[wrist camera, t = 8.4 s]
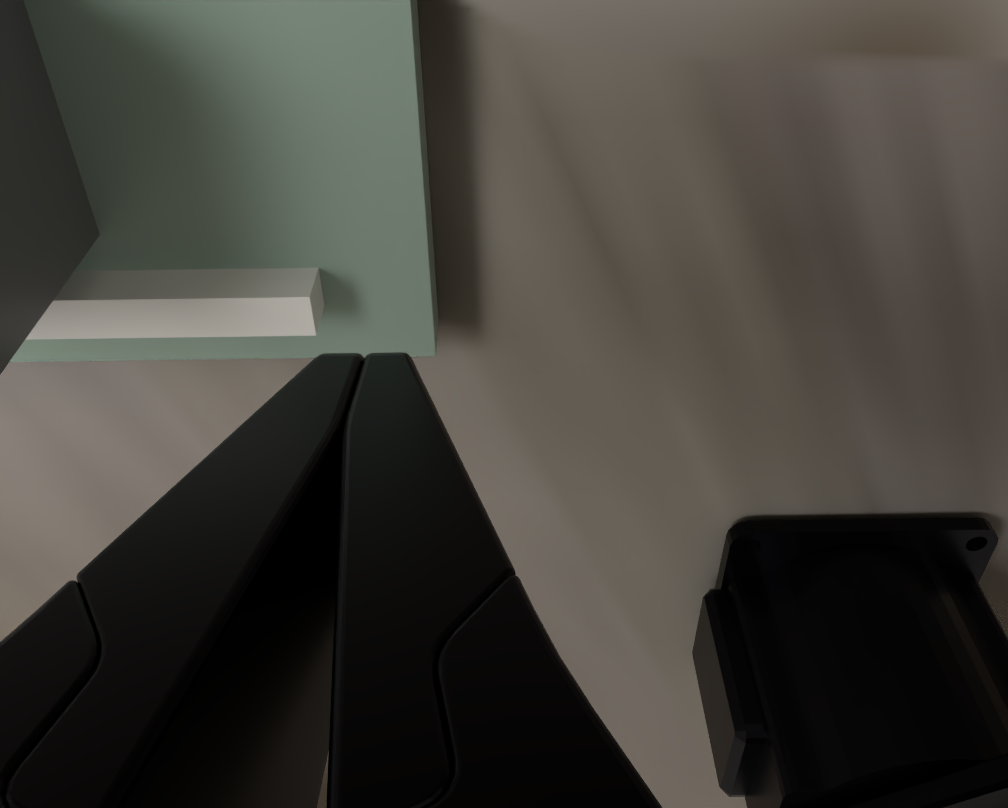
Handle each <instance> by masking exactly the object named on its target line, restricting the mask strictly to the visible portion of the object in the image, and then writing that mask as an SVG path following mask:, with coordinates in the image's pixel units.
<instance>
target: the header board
mask: <svg viewBox="0 0 1008 808" xmlns="http://www.w3.org/2000/svg"><path fill="white" fill-rule="evenodd" d="M24 3H25V6H26V9H27V12H28V16H29V19H30V22H31V25H32V28H33V31H34V34H35V37H36V40H37V43H38V46H39V49H40V52H41V55H42V59H43V62H44V65H45V68H46V71H47V74H48V77H49V80H50V83H51V86H52V89H53V92H54V95H55V98H56V102H57V105H58V108H59V111H60V114H61V117H62V120H63V123H64V126H65V129H66V132H67V135H68V138H69V142H70V145H71V148H72V151H73V154H74V157H75V160H76V163H77V166H78V169H79V172H80V175H81V178H82V181H83V185H84V188H85V191H86V194H87V197H88V200H89V203H90V206H91V209H92V212H93V215H94V218H95V221H96V224H97V228H98V231H99V234H100V236H99V237H98V238H97V240H96V241H95V243H94V244H93V245H92V247H91V248H90V250H89V251H88V252H87V254H86V255H85V257H84V258H83V259H82V261H81V262H80V264H79V265H78V266H77V268H76V269H75V271H74V272H73V273H72V275H71V276H70V278H69V279H68V280H67V282H66V283H65V285H64V286H63V287H62V289H61V290H60V292H59V293H58V294H57V296H56V297H55V299H54V300H53V301H52V303H51V304H50V306H49V307H48V308H47V310H46V311H45V313H44V314H43V315H42V317H41V318H40V320H39V321H38V322H37V324H36V325H35V327H34V328H33V329H32V331H31V332H30V334H29V335H28V336H27V338H26V339H25V341H24V342H23V343H22V345H21V346H20V348H19V349H18V350H17V352H16V353H15V355H14V356H13V357H12V359H11V360H10V362H50V361H123V360H197V359H270V358H316V357H317V356H319V355H320V354H324V353H359V354H361V355H362V356H363V357H366V355H368V354H370V353H389V352H404V353H407V354H409V356H410V357H416V356H436V347H437V335H438V324H439V320H438V305H437V290H436V275H435V260H434V245H433V230H432V215H431V200H430V186H429V171H428V156H427V141H426V126H425V111H424V96H423V81H422V66H421V51H420V36H419V21H418V7H417V0H24Z"/></svg>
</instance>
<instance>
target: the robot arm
mask: <svg viewBox="0 0 1008 808" xmlns="http://www.w3.org/2000/svg"><path fill="white" fill-rule="evenodd" d="M748 540H751V541H748ZM745 541H748V542H745ZM997 542H998V537H997V535H996V533H995V531H994V530H993V528H992V526H991V525H990V523H989V521H987V520H985V519H983V518H910V519H837V520H763V521H744V522H740V523H738V524H736V525H734V526H733V527H732V528H730V529H729V531H728V533H727V535H726V539H725V544H724V549H723V553H722V558H721V563H720V568H719V573H718V578H717V582H716V587H715V589H710V590H709V591H708V592H707V594H706V595H705V596H704V597H703V601H702V606H701V611H700V616H699V621H698V626H697V631H696V636H695V641H694V646H693V652H692V653H693V660H694V665H695V670H696V675H697V679H698V684H699V689H700V694H701V699H702V704H703V709H704V714H705V719H706V724H707V729H708V733H709V738H710V743H711V748H712V753H713V758H714V763H715V768H716V773H717V778H718V782H719V787H720V788H721V789H722V790H723V791H724V792H725V793H726V794H727V795H728V796H729V797H745V800H746V804H747V808H1008V638H1007V636H1006V634H1005V632H1004V630H1003V628H1002V626H1001V625H1000V623H999V621H998V619H997V617H996V615H995V613H994V612H993V610H992V608H991V606H990V604H989V602H988V600H987V599H986V597H985V595H984V593H983V591H982V589H981V587H980V586H979V584H978V582H979V580H980V578H981V576H982V574H983V572H984V570H985V568H986V566H987V563H988V561H989V559H990V557H991V555H992V553H993V551H994V549H995V547H996V545H997ZM77 581H78V583H77V582H76V581H69V582H67V583H66V584H65V585H64V586H63V587H62V588H61V589H60V590H59V591H57V592H56V593H55V594H54V595H53V596H52V597H51V598H50V599H49V600H48V601H46V602H45V603H44V604H43V605H42V606H41V607H40V608H39V609H38V610H37V611H35V612H34V613H33V614H32V615H31V616H30V617H29V618H27V619H26V620H25V621H24V622H23V623H22V624H20V625H19V626H18V627H17V628H16V629H15V630H14V631H12V632H11V633H10V634H9V635H8V636H7V637H5V638H4V639H3V640H2V641H1V642H0V808H317V803H318V798H319V793H320V789H321V784H322V779H323V774H324V770H325V765H326V760H327V755H328V751H329V759H328V783H327V808H662V807H661V805H660V804H659V802H658V801H657V799H656V798H655V796H654V795H653V794H652V792H651V791H650V789H649V788H648V786H647V785H646V784H645V782H644V781H643V779H642V778H641V776H640V775H639V773H638V772H637V771H636V769H635V768H634V766H633V765H632V763H631V762H630V760H629V759H628V758H627V756H626V755H625V753H624V752H623V750H622V749H621V748H620V746H619V745H618V743H617V742H616V740H615V739H614V737H613V736H612V735H611V733H610V732H609V730H608V729H607V727H606V726H605V724H604V723H603V722H602V720H601V719H600V717H599V716H598V714H597V713H596V712H595V710H594V709H593V707H592V706H591V704H590V703H589V701H588V699H587V698H586V696H585V695H584V693H583V692H582V690H581V688H580V687H579V685H578V684H577V682H576V681H575V679H574V678H573V676H572V674H571V673H570V671H569V670H568V668H567V667H566V665H565V664H564V662H563V660H562V659H561V657H560V656H559V654H558V652H557V650H556V648H555V646H554V645H553V643H552V641H551V639H550V637H549V635H548V634H547V632H546V630H545V628H544V626H543V624H542V622H541V621H540V619H539V617H538V615H537V613H536V611H535V610H534V608H533V606H532V603H531V601H530V599H529V597H528V595H527V593H526V591H525V589H524V587H523V585H522V583H521V581H520V579H519V578H518V577H517V576H515V570H514V568H513V566H512V564H511V561H510V559H509V557H508V555H507V553H506V551H505V549H504V547H503V545H502V543H501V541H500V539H499V537H498V535H497V533H496V531H495V529H494V527H493V525H492V522H491V520H490V518H489V516H488V514H487V512H486V510H485V508H484V506H483V504H482V502H481V500H480V498H479V496H478V494H477V492H476V490H475V488H474V485H473V483H472V481H471V479H470V477H469V475H468V473H467V471H466V469H465V467H464V465H463V463H462V461H461V459H460V457H459V455H458V453H457V451H456V448H455V446H454V444H453V442H452V440H451V438H450V436H449V434H448V432H447V430H446V428H445V426H444V424H443V422H442V420H441V418H440V416H439V414H438V411H437V409H436V407H435V405H434V403H433V401H432V399H431V397H430V395H429V393H428V391H427V389H426V387H425V385H424V383H423V381H422V379H421V377H420V375H419V372H418V370H417V368H416V366H415V364H414V362H413V360H412V358H411V357H410V356H409V354H407V353H404V352H389V353H370V354H368V355H366V357H365V358H364V357H363V356H362V355H361V354H359V353H324V354H320V355H319V356H317V357H316V358H315V359H313V360H312V361H311V362H310V363H309V364H308V365H307V366H306V367H305V368H304V369H302V370H301V371H300V372H299V373H298V374H297V375H296V376H295V377H294V378H293V379H291V380H290V381H289V382H288V383H287V384H286V385H285V386H284V387H283V388H282V389H280V390H279V391H278V392H277V393H276V394H275V395H274V396H273V397H272V398H271V399H269V400H268V401H267V402H266V403H265V404H264V405H263V406H262V407H261V408H260V409H258V410H257V411H256V412H255V413H254V414H253V415H252V416H251V417H250V418H249V419H247V420H246V421H245V422H244V423H243V424H242V425H241V426H240V427H239V428H237V429H236V430H235V431H234V432H233V433H232V434H231V435H230V436H229V437H228V438H226V439H225V440H224V441H223V442H222V443H221V444H220V445H219V446H218V447H217V448H215V449H214V450H213V451H212V452H211V453H210V454H209V455H208V456H207V457H206V458H204V459H203V460H202V461H201V462H200V463H199V464H198V465H197V466H196V467H195V468H193V469H192V470H191V471H190V472H189V473H188V474H187V475H186V476H185V477H184V478H182V479H181V480H180V481H179V482H178V483H177V484H176V485H175V486H174V487H173V488H171V489H170V490H169V491H168V492H167V493H166V494H165V495H164V496H163V497H161V498H160V499H159V500H158V501H157V502H156V503H155V504H154V505H153V506H152V507H150V508H149V509H148V510H147V511H146V512H145V513H144V514H143V515H142V516H141V517H139V518H138V519H137V520H136V521H135V522H134V523H133V524H132V525H131V526H130V527H128V528H127V529H126V530H125V531H124V532H123V533H122V534H121V535H120V536H119V537H117V538H116V539H115V540H114V541H113V542H112V543H111V544H110V545H109V546H108V547H106V548H105V549H104V550H103V551H102V552H101V553H100V554H99V555H98V556H97V557H95V558H94V559H93V560H92V561H91V562H90V563H89V564H88V565H87V566H86V567H84V568H83V569H82V570H81V571H80V572H79V573H78V574H77Z"/></svg>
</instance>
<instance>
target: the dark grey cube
mask: <svg viewBox="0 0 1008 808" xmlns="http://www.w3.org/2000/svg"><path fill="white" fill-rule="evenodd" d="M99 236H100V234H99V231H98V228H97V224H96V221H95V218H94V215H93V212H92V209H91V206H90V203H89V200H88V197H87V194H86V191H85V188H84V185H83V181H82V178H81V175H80V172H79V169H78V166H77V163H76V160H75V157H74V154H73V151H72V148H71V145H70V142H69V138H68V135H67V132H66V129H65V126H64V123H63V120H62V117H61V114H60V111H59V108H58V105H57V102H56V98H55V95H54V92H53V89H52V86H51V83H50V80H49V77H48V74H47V71H46V68H45V65H44V62H43V59H42V55H41V52H40V49H39V46H38V43H37V40H36V37H35V34H34V31H33V28H32V25H31V22H30V19H29V16H28V12H27V9H26V6H25V3H24V0H0V374H1V373H2V371H3V370H4V369H5V367H6V366H7V364H8V363H9V362H10V360H11V359H12V357H13V356H14V355H15V353H16V352H17V350H18V349H19V348H20V346H21V345H22V343H23V342H24V341H25V339H26V338H27V336H28V335H29V334H30V332H31V331H32V329H33V328H34V327H35V325H36V324H37V322H38V321H39V320H40V318H41V317H42V315H43V314H44V313H45V311H46V310H47V308H48V307H49V306H50V304H51V303H52V301H53V300H54V299H55V297H56V296H57V294H58V293H59V292H60V290H61V289H62V287H63V286H64V285H65V283H66V282H67V280H68V279H69V278H70V276H71V275H72V273H73V272H74V271H75V269H76V268H77V266H78V265H79V264H80V262H81V261H82V259H83V258H84V257H85V255H86V254H87V252H88V251H89V250H90V248H91V247H92V245H93V244H94V243H95V241H96V240H97V238H98V237H99Z"/></svg>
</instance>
